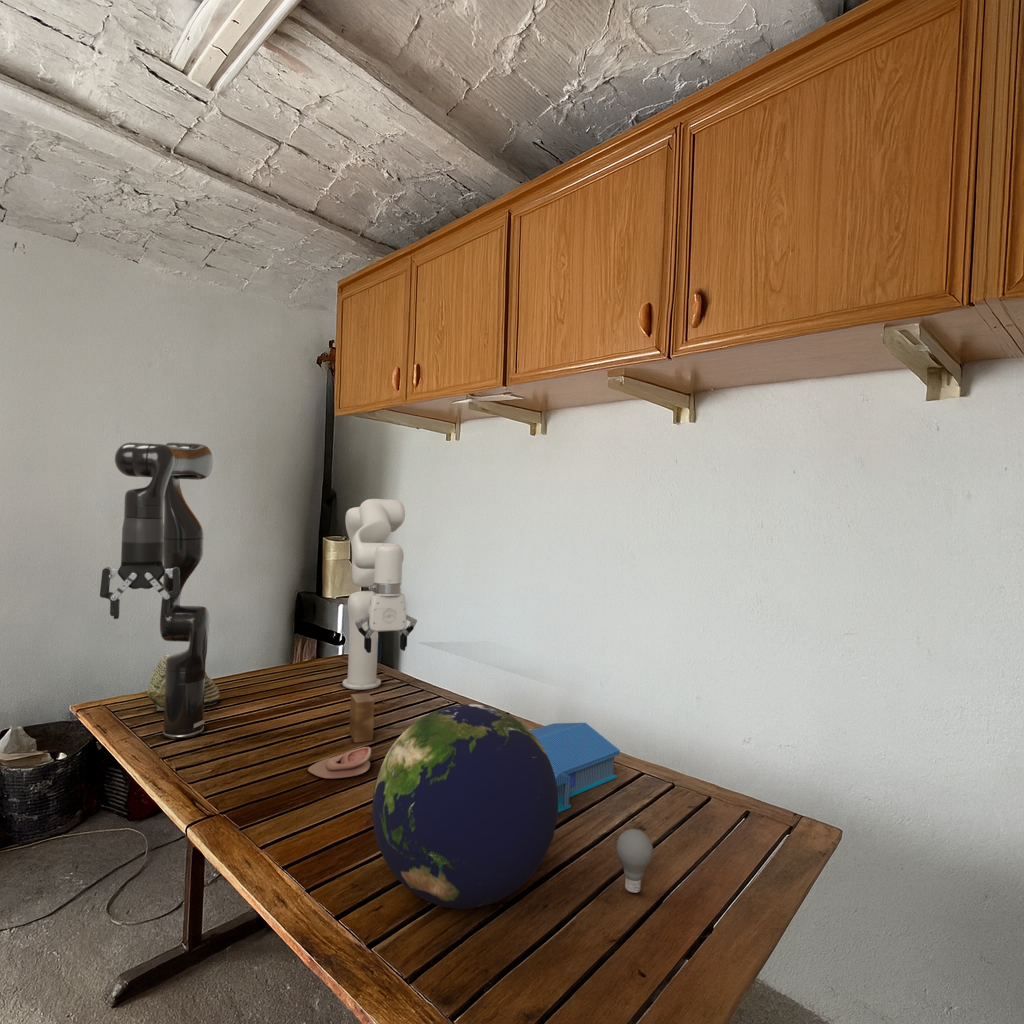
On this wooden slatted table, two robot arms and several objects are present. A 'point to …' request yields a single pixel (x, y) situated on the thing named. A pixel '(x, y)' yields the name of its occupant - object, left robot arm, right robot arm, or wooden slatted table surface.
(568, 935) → the wooden slatted table surface
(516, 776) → the globe
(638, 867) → the light bulb
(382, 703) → the wooden slatted table surface
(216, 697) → the fossil
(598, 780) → the model building
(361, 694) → the brick
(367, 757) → the anatomical model
